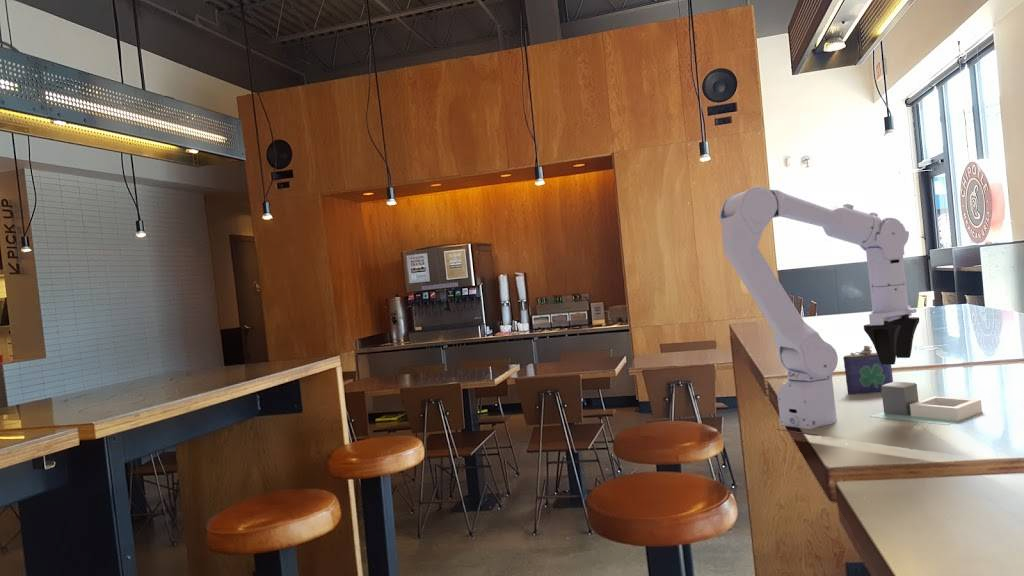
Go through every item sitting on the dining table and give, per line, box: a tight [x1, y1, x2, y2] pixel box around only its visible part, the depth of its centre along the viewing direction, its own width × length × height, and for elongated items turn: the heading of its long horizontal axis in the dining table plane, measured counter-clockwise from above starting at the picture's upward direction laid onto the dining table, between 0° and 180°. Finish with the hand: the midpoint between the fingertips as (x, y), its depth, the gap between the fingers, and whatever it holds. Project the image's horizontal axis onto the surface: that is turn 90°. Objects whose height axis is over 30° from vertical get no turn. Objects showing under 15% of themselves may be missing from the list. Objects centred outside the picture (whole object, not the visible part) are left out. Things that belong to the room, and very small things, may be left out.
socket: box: [910, 395, 983, 422], centre depth 117 cm, size 8×8×2 cm
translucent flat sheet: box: [869, 410, 983, 426], centre depth 118 cm, size 11×13×1 cm
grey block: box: [881, 381, 920, 416], centre depth 121 cm, size 4×4×5 cm
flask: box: [843, 345, 894, 395], centre depth 142 cm, size 9×3×11 cm, turn 87°
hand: (895, 360), depth 124 cm, fingers open, 7 cm apart
